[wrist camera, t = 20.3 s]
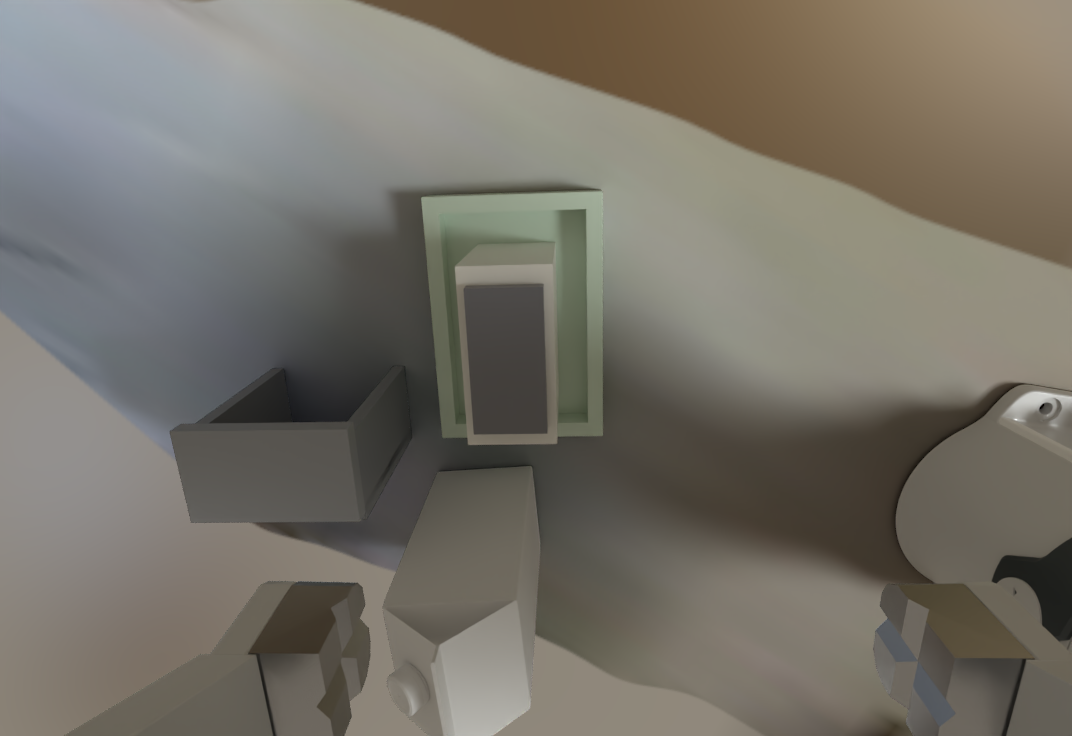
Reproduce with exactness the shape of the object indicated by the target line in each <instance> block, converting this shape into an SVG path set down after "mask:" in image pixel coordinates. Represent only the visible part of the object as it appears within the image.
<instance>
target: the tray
mask: <svg viewBox="0 0 1072 736" xmlns="http://www.w3.org/2000/svg"><path fill="white" fill-rule="evenodd" d="M421 202H422V213H423V225H424V236H425V247H426V259H427V270H428V281H429V293H430V304H431V315H432V327H433V338H434V350H435V361H436V372H437V384H438V395H439V406H440V418H441V429H442V438H467V424H466V411H465V398H464V384H463V371H462V357H461V344H460V330H459V317H458V303H457V290H456V276H455V266H456V265H457V264H458V263H459V262H460V261H461V260H462V259H463V258H464V257H465V256H466V255H467V254H468V253H469V252H470V251H471V250H472V249H473V248H475V247H476V246H477V245H478V244H498V243H533V242H555V244H556V287H557V329H558V372H559V402H558V437H566V436H603V191H602V190H575V191H545V192H514V193H483V194H453V195H428V196H424V197H421Z"/></svg>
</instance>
